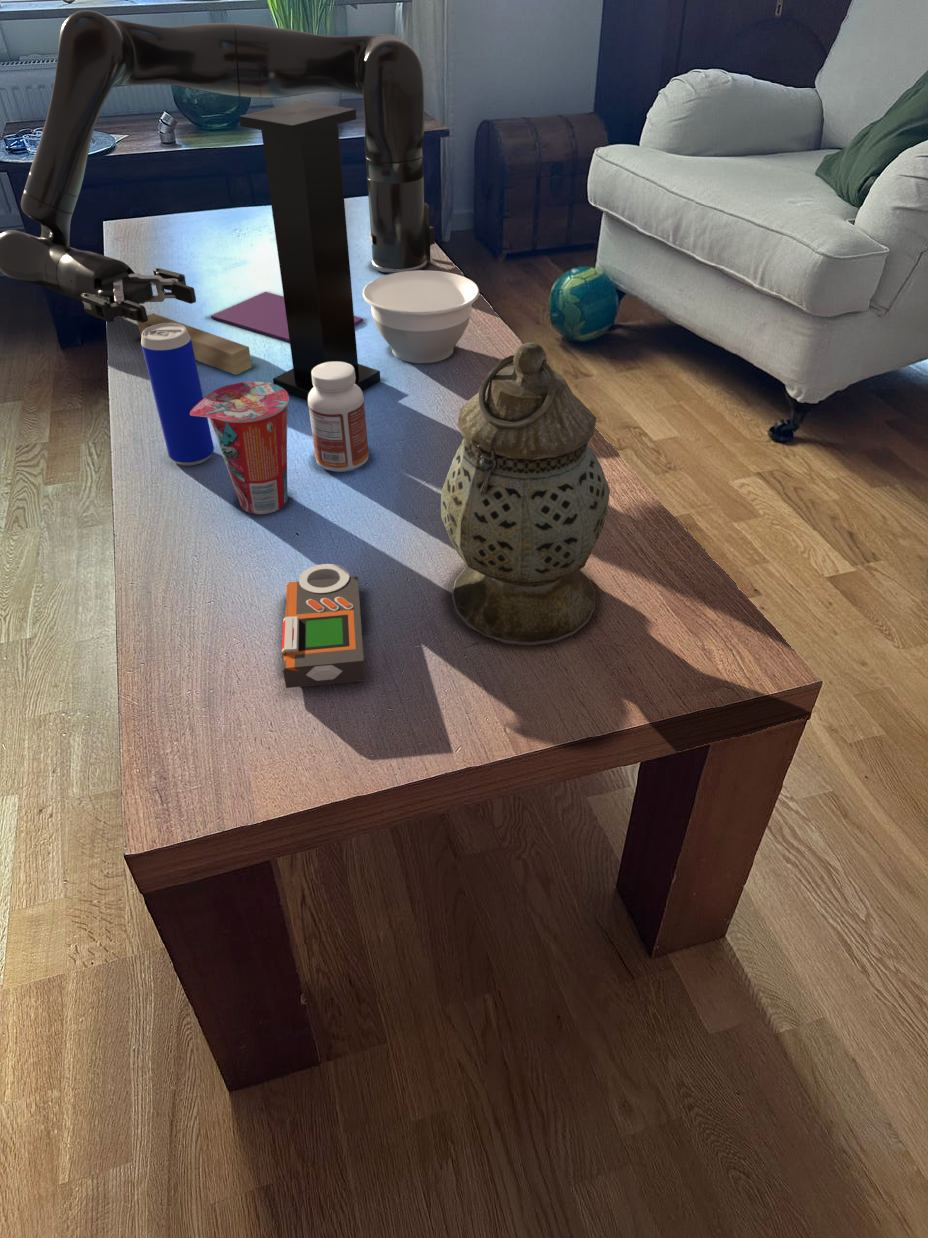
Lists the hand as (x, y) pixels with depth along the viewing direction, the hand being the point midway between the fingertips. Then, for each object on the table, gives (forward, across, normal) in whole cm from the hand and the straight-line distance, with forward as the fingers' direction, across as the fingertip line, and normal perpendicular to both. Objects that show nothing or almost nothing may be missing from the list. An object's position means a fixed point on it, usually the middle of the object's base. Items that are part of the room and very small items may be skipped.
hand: (169, 305), depth 123 cm
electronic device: (+60, -34, +6) cm, 69 cm away
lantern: (+71, -20, +6) cm, 74 cm away
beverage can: (+26, -20, +6) cm, 33 cm away
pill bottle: (+40, -10, +6) cm, 42 cm away
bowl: (+29, +20, +6) cm, 36 cm away
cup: (+39, -22, +6) cm, 46 cm away
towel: (+6, +16, +6) cm, 18 cm away
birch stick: (+4, 0, +6) cm, 7 cm away
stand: (+26, +3, +6) cm, 27 cm away
